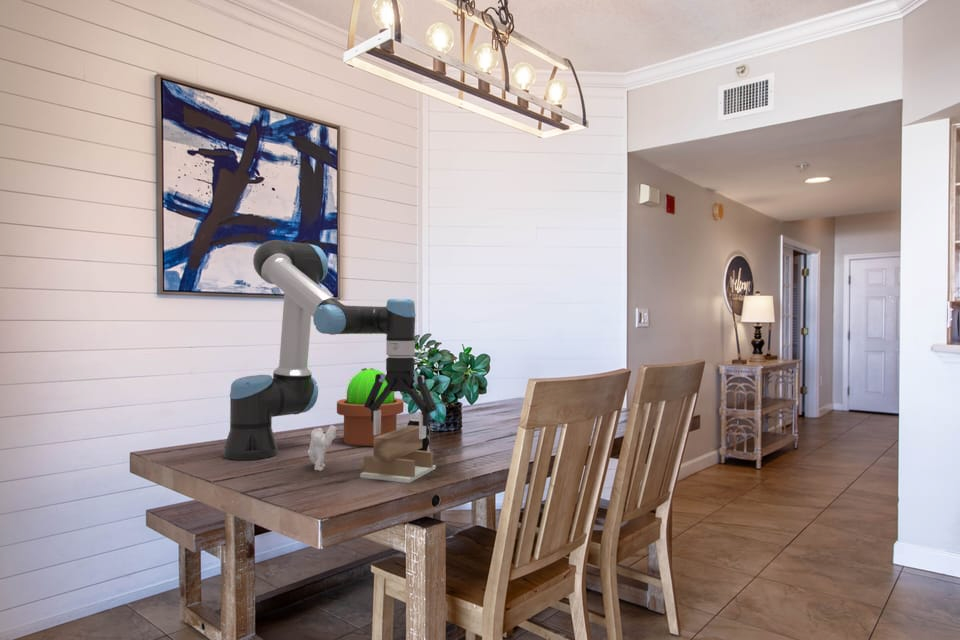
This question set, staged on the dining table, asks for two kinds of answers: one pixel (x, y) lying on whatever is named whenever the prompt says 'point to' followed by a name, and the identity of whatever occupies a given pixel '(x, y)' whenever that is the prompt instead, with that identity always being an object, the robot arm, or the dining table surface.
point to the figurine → (320, 445)
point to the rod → (396, 444)
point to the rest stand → (400, 467)
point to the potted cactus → (366, 410)
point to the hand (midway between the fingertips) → (399, 436)
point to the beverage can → (426, 440)
